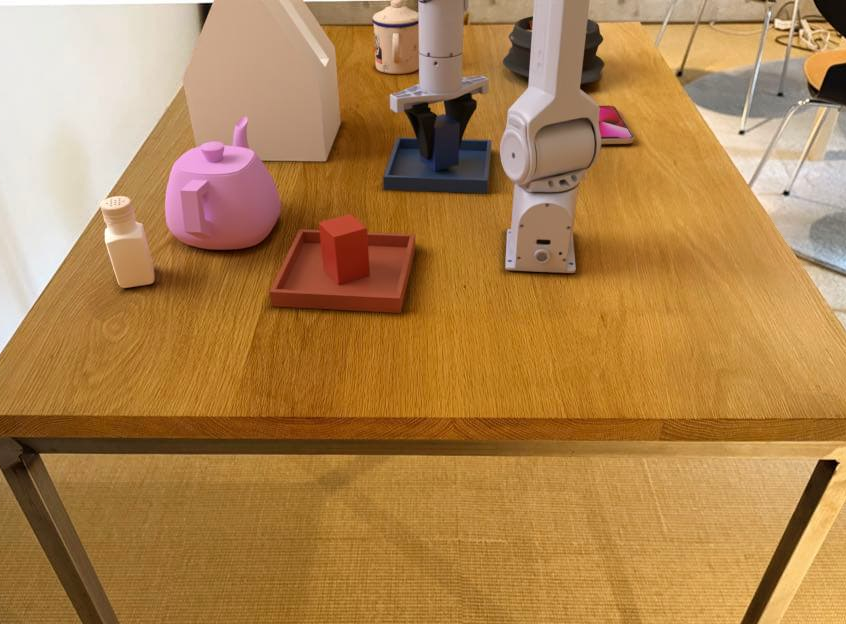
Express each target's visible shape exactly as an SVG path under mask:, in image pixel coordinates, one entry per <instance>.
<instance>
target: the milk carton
mask: <svg viewBox="0 0 846 624" xmlns="http://www.w3.org/2000/svg"><path fill="white" fill-rule="evenodd" d="M336 56H337V55H336V47H335V45H334V44H333V42H332V41H331V39H330V38H329V37H328V35H327V34H326V32H325V31H324V29H323V28H322V26H321V24H320V23H319V22H318V20H317V19H316V17H315V15H314V14H313V13H312V12H311V10H310V8H309V7H308V6H307V4H306V2H305V1H304V0H213V1H212V4H211V6H210V8H209V12H208V14H207V16H206V19H205V22H204V23H203V26H202V29H201V31H200V34H199V36H198V39H197V41H196V43H195V47H194V48H193V51H192V54H191V56H190V59H189V61H188V64H187V66H186V68H185V71H184V74H183V76H182V78H181V81H182V86H183V89H184V95H185V100H186V105H187V110H188V114H189V119H190V124H191V129H192V134H193V140H194V143H195V148H196V147H200V146H201V145H202V144H204V143H207V142H212V141H217V142H222V143H223V144H224V146H233V138H234V131H235V126H236V124H237V122H238V121H239V120H240V119H241V118H243V117H247V118H248V124H247V141H248V146H249V149H250V150H252V151H254V152H255V153H256V154H257V155H258V157H259V158H260V159H261V161H265V162H266V161H267V162H269V161H272V162H273V161H277V162H327V160H328V157H329V155H330V152H331V150H332V147H333V145H334V141H335V139H336V137H337V134H338V132H339V129H340V126H341V123H342V122H341V109H340V97H339V82H338V69H337V57H336Z"/></svg>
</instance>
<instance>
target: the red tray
mask: <svg viewBox="0 0 846 624" xmlns="http://www.w3.org/2000/svg"><path fill="white" fill-rule="evenodd" d="M367 236H368V253H369V270H370V275H369V276H366V277H363V278H360V279H357V280H354V281H350V282H347V283H344V284H341V285H338V284H337V283H336V282H335V281H334V280H333V279H332V278H331V277H330V276H329V275H328V274H327V273H326V272H325V271H324V269H323V259H322V250H321V240H320V230H319V229H305V228H304V229H303V228H300V229H298V231H297V233H296V236H295V237H294V240H293V242H292V244H291V246H290V248H289V250H288V252H287V254H286V256H285V258H284V261H283V263H282V265H281V266H280V269H279V271H278V273H277V275H276V277H275V279H274V281H273V283H272V284H271V287H270V289H269V293H268V294H269V299H270V305H271V307H276V308H277V307H278V308H294V309H295V308H296V309H297V308H298V309H313V310H315V309H318V310H333V311H335V310H336V311H353V312H370V313H371V312H373V313H392V314H393V313H394V314H401V313H402V308H403V305H404V301H405V295H406V291H407V287H408V283H409V278H410V275H411V269H412V265H413V260H414V257H415V253H416V247H417V246H416V233H398V232H371V231H367Z"/></svg>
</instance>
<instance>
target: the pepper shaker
mask: <svg viewBox="0 0 846 624" xmlns="http://www.w3.org/2000/svg"><path fill="white" fill-rule="evenodd" d="M99 208H100V210H101V214H102V217H103V220H104V223H106V228H105V229H104V242H105V246H106V248H107V252H108V255H109V259H110V263H111V266H112V268H113V272H114V275H115V278H116V281H117V284H118V285H119V287H120V288H122V289H127V288H133V287H139V286H147V285H151V284H153V283H154V282H155V279H156V277H155V276H156V275H155V265H154V262H153V257H152V254H151V251H150V247H149V243H148V239H147V236H146V231H145V228H144V225H143V223H141V222H138V221H137V220H136V214H135V210H134V207H133V202H132V200H131V199H130V197H127V196H124V195H115V196H111V197H107V198H105V199H103V200H102V201H101V202H100V203H99Z"/></svg>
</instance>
